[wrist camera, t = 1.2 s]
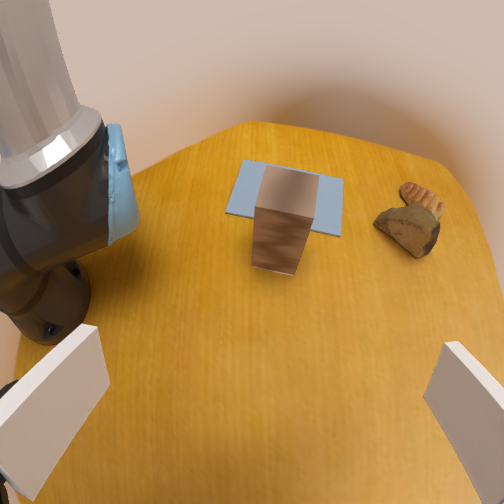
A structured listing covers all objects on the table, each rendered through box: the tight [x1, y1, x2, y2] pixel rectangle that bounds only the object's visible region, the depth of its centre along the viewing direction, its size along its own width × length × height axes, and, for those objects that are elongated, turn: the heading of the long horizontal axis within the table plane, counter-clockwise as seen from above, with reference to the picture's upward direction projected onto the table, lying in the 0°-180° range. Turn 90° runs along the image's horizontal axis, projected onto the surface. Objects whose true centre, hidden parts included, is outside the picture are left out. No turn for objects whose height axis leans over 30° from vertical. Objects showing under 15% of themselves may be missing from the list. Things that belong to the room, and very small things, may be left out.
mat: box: [225, 159, 344, 237], centre depth 48 cm, size 18×12×1 cm, turn 77°
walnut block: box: [252, 165, 319, 276], centre depth 37 cm, size 6×6×14 cm
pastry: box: [400, 182, 445, 220], centre depth 47 cm, size 9×7×4 cm
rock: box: [374, 203, 440, 258], centre depth 42 cm, size 11×9×10 cm
